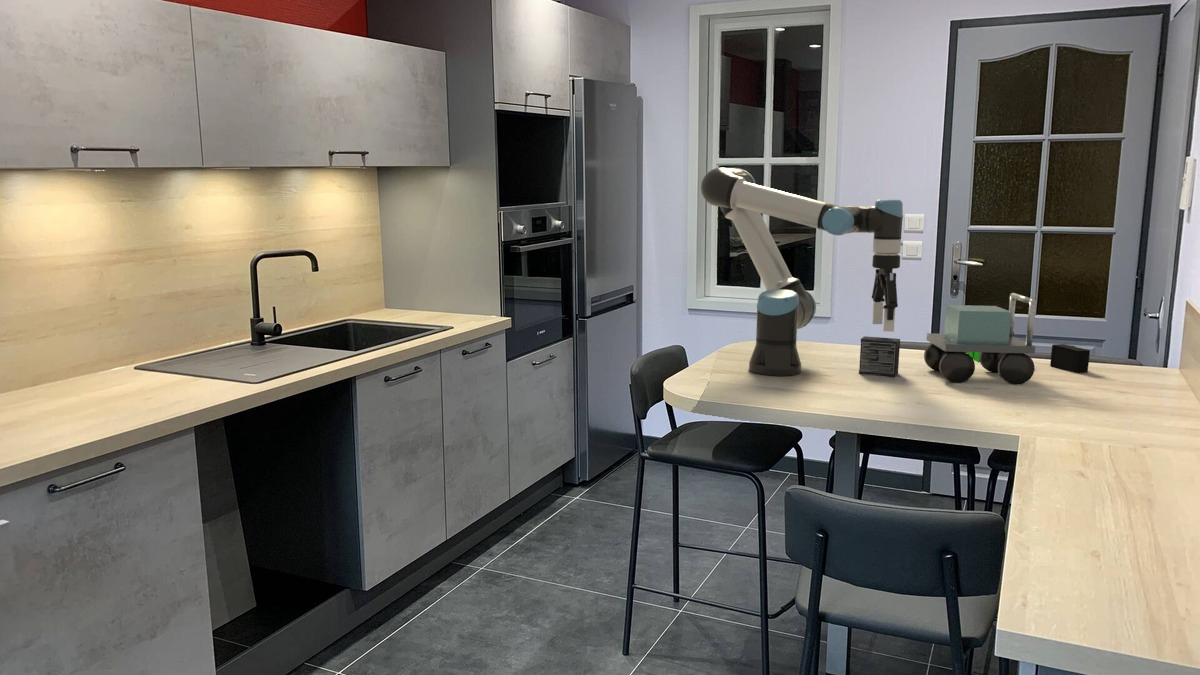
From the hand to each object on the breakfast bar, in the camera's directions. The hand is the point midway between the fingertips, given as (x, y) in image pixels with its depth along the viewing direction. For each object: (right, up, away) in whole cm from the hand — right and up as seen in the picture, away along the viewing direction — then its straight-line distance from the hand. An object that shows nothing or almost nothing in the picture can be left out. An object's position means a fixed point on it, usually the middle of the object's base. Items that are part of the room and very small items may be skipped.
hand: (882, 327), depth 255 cm
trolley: (+26, -14, -1) cm, 30 cm away
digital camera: (+60, -13, +11) cm, 62 cm away
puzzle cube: (+41, -10, +24) cm, 49 cm away
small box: (0, -14, +3) cm, 14 cm away
